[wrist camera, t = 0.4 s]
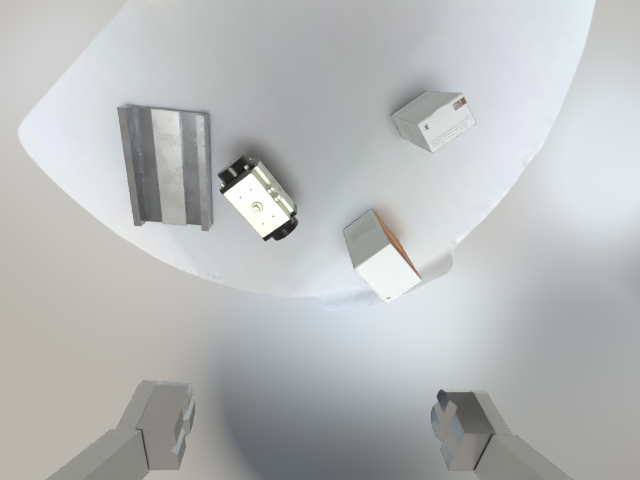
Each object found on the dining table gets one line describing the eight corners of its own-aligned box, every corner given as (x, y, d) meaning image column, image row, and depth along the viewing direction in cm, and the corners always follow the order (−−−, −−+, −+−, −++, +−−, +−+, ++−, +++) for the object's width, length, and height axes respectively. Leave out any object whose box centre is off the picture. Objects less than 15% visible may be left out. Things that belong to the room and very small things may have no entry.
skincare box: (403, 139, 51) (431, 157, 40) (388, 113, 49) (414, 125, 38) (439, 114, 50) (479, 126, 39) (426, 87, 48) (463, 91, 37)
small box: (398, 239, 59) (423, 281, 47) (369, 260, 60) (386, 306, 49) (371, 206, 56) (391, 242, 44) (341, 230, 57) (352, 270, 46)
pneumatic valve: (276, 218, 56) (271, 253, 45) (227, 160, 51) (208, 184, 40) (303, 199, 54) (304, 230, 44) (256, 138, 50) (244, 156, 39)
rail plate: (127, 105, 47) (117, 107, 44) (208, 113, 48) (203, 116, 45) (142, 218, 54) (134, 225, 51) (212, 223, 55) (208, 231, 53)
